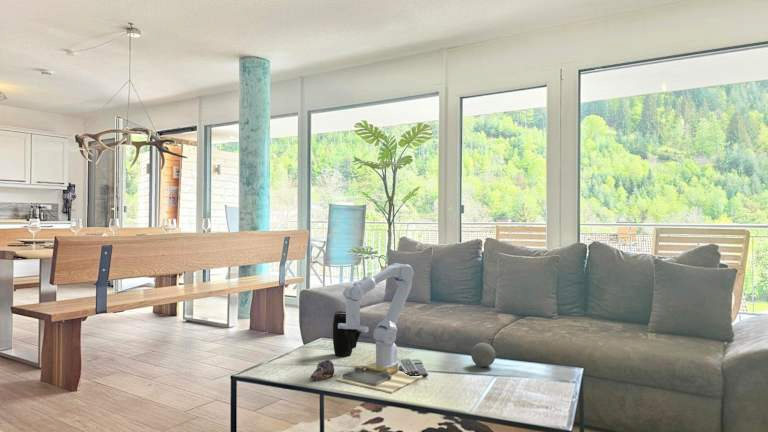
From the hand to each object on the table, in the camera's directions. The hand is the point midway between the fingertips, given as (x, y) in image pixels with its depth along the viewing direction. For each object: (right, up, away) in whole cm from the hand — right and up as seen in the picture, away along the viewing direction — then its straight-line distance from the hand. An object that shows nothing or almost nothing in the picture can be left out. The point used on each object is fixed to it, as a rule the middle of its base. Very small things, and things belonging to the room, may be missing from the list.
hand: (353, 347), depth 214 cm
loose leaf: (+11, -9, -5) cm, 15 cm away
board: (+11, -9, -11) cm, 18 cm away
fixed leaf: (+6, -9, -13) cm, 16 cm away
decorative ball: (+54, -9, +5) cm, 56 cm away
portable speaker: (-6, -10, +25) cm, 27 cm away
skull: (-12, -10, -9) cm, 18 cm away
